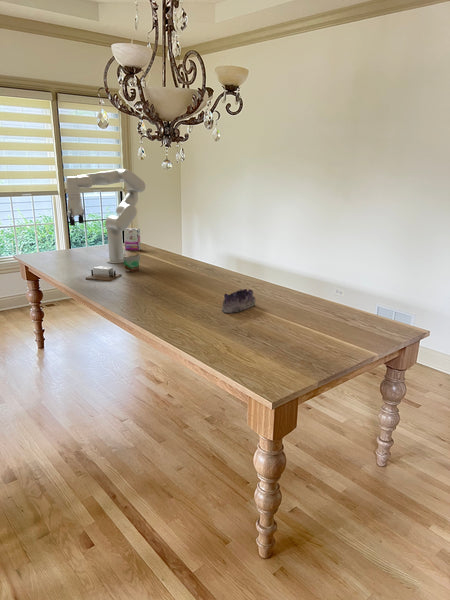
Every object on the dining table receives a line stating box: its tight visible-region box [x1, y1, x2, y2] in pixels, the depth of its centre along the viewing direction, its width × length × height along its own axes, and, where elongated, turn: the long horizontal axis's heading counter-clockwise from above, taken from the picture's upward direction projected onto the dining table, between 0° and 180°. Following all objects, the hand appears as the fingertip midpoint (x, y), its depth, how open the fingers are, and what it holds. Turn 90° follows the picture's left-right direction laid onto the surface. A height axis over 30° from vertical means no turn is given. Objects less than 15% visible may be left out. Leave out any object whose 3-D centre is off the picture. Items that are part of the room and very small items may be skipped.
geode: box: [221, 288, 256, 315], centre depth 211 cm, size 20×12×10 cm, turn 144°
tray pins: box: [90, 269, 117, 278], centre depth 261 cm, size 4×14×4 cm, turn 74°
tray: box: [85, 272, 122, 283], centre depth 262 cm, size 14×16×1 cm
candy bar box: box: [123, 227, 142, 251], centre depth 338 cm, size 11×5×16 cm, turn 80°
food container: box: [123, 253, 141, 273], centre depth 276 cm, size 12×6×10 cm, turn 143°
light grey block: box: [93, 265, 114, 277], centre depth 261 cm, size 5×10×5 cm, turn 74°
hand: (77, 224), depth 276 cm, fingers open, 9 cm apart
